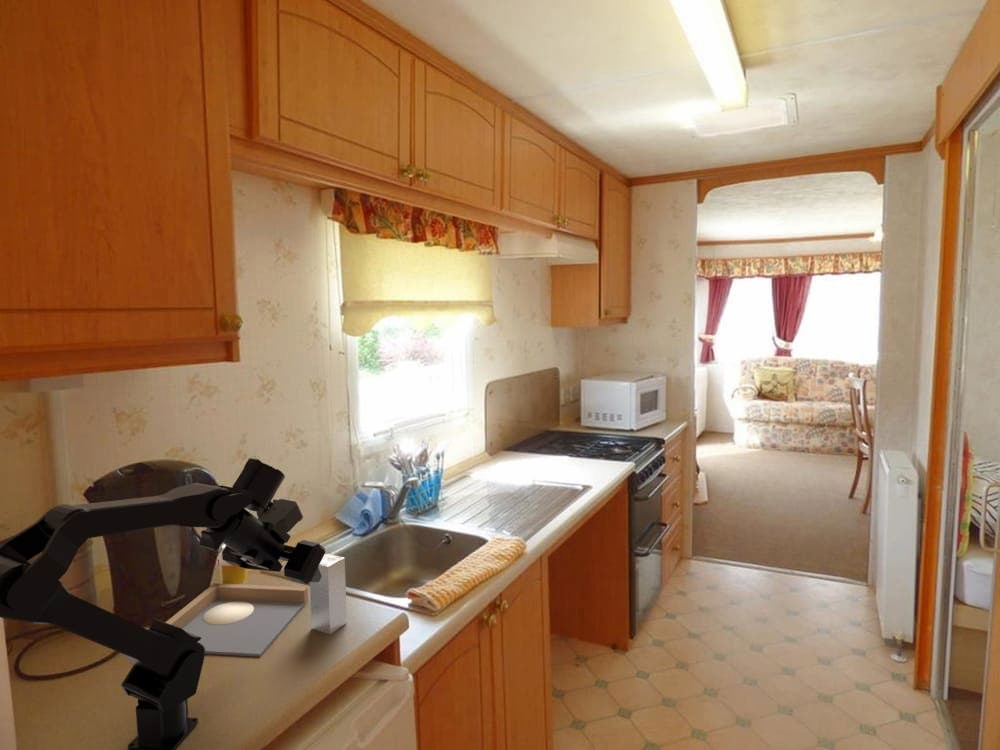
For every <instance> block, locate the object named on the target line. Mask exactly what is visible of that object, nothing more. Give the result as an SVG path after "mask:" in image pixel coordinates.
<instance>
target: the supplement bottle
mask: <svg viewBox="0 0 1000 750" xmlns="http://www.w3.org/2000/svg"><path fill="white" fill-rule="evenodd" d="M225 546H226V545H225V544H224V543H223V544H222V545H221V552H222V551H223V550H224V548H225ZM218 569H219V584H242V585H249V583H248V581H249V580H248V569H246V568H242V567H238V566H235V565H231V564H229V563H227V562H225V561H224V560H222V555H220V556H219V559H218Z"/></svg>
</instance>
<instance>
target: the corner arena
mask: <svg viewBox="0 0 1000 750" xmlns="http://www.w3.org/2000/svg"><path fill="white" fill-rule="evenodd" d="M308 593H309V591H308V587H307V586H284V585H282V586H281V585H264V584H263V585H261V584H248V585H242V584H220V582H219V583H217V582H216V583H213V584H211V585H210V586H209V587H208V588H207V589H205V590H204V591H202V593H200V594H199V595H198V596H196V597H195V598H194V599H193V600H191V601H190V602H189V603H188V604H187V605H186V606H184V607H183V608H182V609H180V610H179V611H178V612H177V613H175V614H174V615H173V616H172V617H170V618H169V619H168V620H167V621H164V622H165V623H168V624H171V625H174V626H176V627H179V628H181V629H183V630H184V631H186V632H188V633H191V634H193V635H196V636H199V637H201V639H200V640H199V641H198V643H201V644H202V645H203V646H204V648H205V652H204V655H221V656H222V655H223V656H239V657H240V656H241V657H260V658H261V657H262V656H263V655H264V654H265V653H266V651H267V650H268V649H269V648H270V647H271V645H272V644H273V643H274V642H275V641H276V639H277V638H278V637H279V636H280V635H281V633H282V632H283V631H284V630H285V629H286V628H287V627H288V625H289V624H290V623H291V622H292V621H293V620H294V618H295V617H296V616H297V614H299V613H300V612H301V610H302V609H303V608H304V607H303V606H306V605H307V603H308V602H307V601H309V596H308V595H309V594H308ZM306 602H307V603H306ZM302 607H303V608H302ZM301 608H302V609H301Z"/></svg>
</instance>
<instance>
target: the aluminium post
mask: <svg viewBox="0 0 1000 750" xmlns="http://www.w3.org/2000/svg"><path fill="white" fill-rule="evenodd" d="M345 561H346V559H345V557H343V556H339V555H335V554H331V553H330V554H329V553H326V552H325V554H324V556H323V558H322V560H321V562H320V564H319V566H318V568H319V570H320V573H321V575H322V577H321V579H320V581H319V582H309V585H310V586H309V589H310V590H309V591H310V614H311V615H310V616H311V630H314V629H315V630H314V631H317V630H318V631H317V632H320V631H321V633H324V634H327V635H332V634H334V633H335V632H336V631H338V630H340V629H341V628H342V627H343V626H345V625H346V624H347V623H348V621H347V616H348V615H347V594H346V593H347V591H346V590H347V589H346V562H345ZM340 627H341V628H340Z"/></svg>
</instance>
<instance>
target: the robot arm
mask: <svg viewBox="0 0 1000 750" xmlns="http://www.w3.org/2000/svg"><path fill="white" fill-rule="evenodd" d="M285 478H286V476H285V473H283V472H282V471H281V470H279V469H278V468H275V467H273V466H271V465H269V464H266V463H264V462H262V461H261V460H260V459H258V458H251V457H250V458H248V459H247V461H246V462H245V465H244V466H243V469H242V471H241V472H240V474H239V475H238V477H237V479H236V480H235V481H234V483H233V484H232V486H226V485H209V484H203V483H201V482H200V483H199V482H193V483H189V484H185V485H182V486H178V487H174V488H172V489H170V490H169V491H167V492H165V493H163V494H160V495H154V496H145V497H137V498H136V497H135V498H126V499H120V500H119V499H118V500H111V501H110V500H109V501H107V500H106V501H100V502H99V501H98V502H91V503H83V504H81V503H80V504H67V503H63V504H59V505H57V506H54V507H52V508H50V509H49V510H48V511H46V512H45V513H44V514H42V516H41V517H40V518H39V519H37V521H36V522H34V523H33V524H31V525H29V526H27V527H26V528H25V529H23V530H21V531H20V532H18V533H16V534H15V535H13V536H11V537H10V538H8V539H6V540H5V541H4V542H2V543H1V544H0V618H1V619H4V620H5V619H6V620H10V621H17V622H23V623H28V624H39V625H40V624H41V625H50V626H54V627H56V628H59V629H61V630H64V631H65V632H66V631H67V632H68V633H71V634H74V635H77V636H79V637H81V638H84V639H86V640H88V641H91V642H93V643H96V644H98V645H101V646H103V647H105V648H107V649H111V650H114V651H115V652H117V653H120V654H123V656H125V657H126V659H128V661H129V662H130V663H131V664H132V667H131V669H130V670H129V672H127V675H126V676H125V678H124V679H123V681H122V682H121V688H122V690H123V691H124V694H125V695H126V696H131V697H133V698H135V699H137V705H136V706H135V717H136V718H135V720H136V733H137V734H136V735H137V736H135V737H134V738H133V739H132V740H131V741H130V743H128V744H127V750H175V749H177V747H179V745H181V743H182V742H183V741H184V739H186V737H187V736H188V735H189V734H190V732H191V731H192V730H193V729H194V728H195V727H196V726H197V724H198V723H199V718H198V717H189V703H188V700H189V699H190V698H191V697H193V696H195V695H196V694H197V690H198V686H199V682H200V677H201V673H202V669H203V664H204V660H205V656H206V654H204V652H205V648H204V646H203V645H202V644H201V643H198V641H199V640H200V639H201V637H199V636H196V635H193V634H191V633H188V632H186V631H184V630H183V629H181V628H179V627H176V626H174V625H171V624H168V623H165V622H166V621H162V620H160V619H156V618H153V620H152V621H151V624H150V626H149V627H143V626H142V625H141V626H140V625H138V624H137V623H134V622H132V621H130V620H129V619H125V618H124V617H121V616H119V615H118V614H114V613H112V612H111V611H108V610H105V609H104V608H102V607H99V606H97V605H95V604H93V603H91V602H88V601H86V600H84V599H82V598H80V597H78V596H76V595H74V594H73V593H71V592H70V590H69V589H68V588H67V587H66V586H65V585H64V584H63V582H61V578H63V576H65V574H66V573H67V572H68V570H69V568H70V566H71V564H72V562H73V560H74V559H75V557H76V554H77V553H78V551H79V549H80V548H81V546H82V545H83V544H84V543H85V542H86V541H87V540H88V539H93V538H100V537H106V536H111V535H117V534H118V535H119V534H125V533H131V532H136V531H137V532H138V531H142V530H143V531H144V530H149V529H157V528H163V527H169V526H170V527H171V526H178V527H179V526H180V527H190V528H202V529H203V528H205V529H204V530H201V532H200V534H201V535H200V539H199V546H200V547H202V548H206V549H209V550H212V551H213V550H214V551H218V550H219V549H220V548H221V547H222V545H224V544H225V545H226V546H225V548H224V550H223V551H222V550H221V556H222V560H224V561H225V562H227V563H229V564H231V565H235V566H238V567H242V568H246V569H247V570H257V571H264V572H265V571H267V572H280V573H281V572H282V571H281V570H283V574H284V577H286V578H287V579H289V580H291V582H295V583H299V584H303V585H309V584H310V582H319V581H320V579H321V577H322V575H321V573H320V570H319V568H318V566H319V564H320V562H321V560H322V558H323V556H324V554H326V548H325V547H324V546H322V545H321V544H320V543H319V542H315V541H310V540H305V539H303V540H300V541H298V542H297V543H296V545H295V546H291V545H287V543H288V542H289V540H290V538H291V535H290V534H288V533H289V532H290V531H291V530H292V529H293V528H294V527H295V526H296V525H297V524H298V523H299V522H301V521H302V520H303V518H304V516H303V513H302V510H301V509H300V507H299V505H298V502H297V501H295V500H289V499H285V498H280V499H279V498H278V499H274V497H275V495H276V494H277V491H278V490H279V488H280V487H281V485H282V483H283V482H284V480H285ZM248 510H249V511H248ZM250 511H252V512H256V515H257V516H255V515H253V514H252V513H251V512H250ZM285 543H286V544H285ZM37 555H39V556H38V557H37V558H36V559H34V561H32V562H29V561H30V560H31V559H33V558H34V557H36V556H37ZM279 560H280V561H285V562H286V563H285V566H283V565H282V564H281V562H280V561H279Z"/></svg>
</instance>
